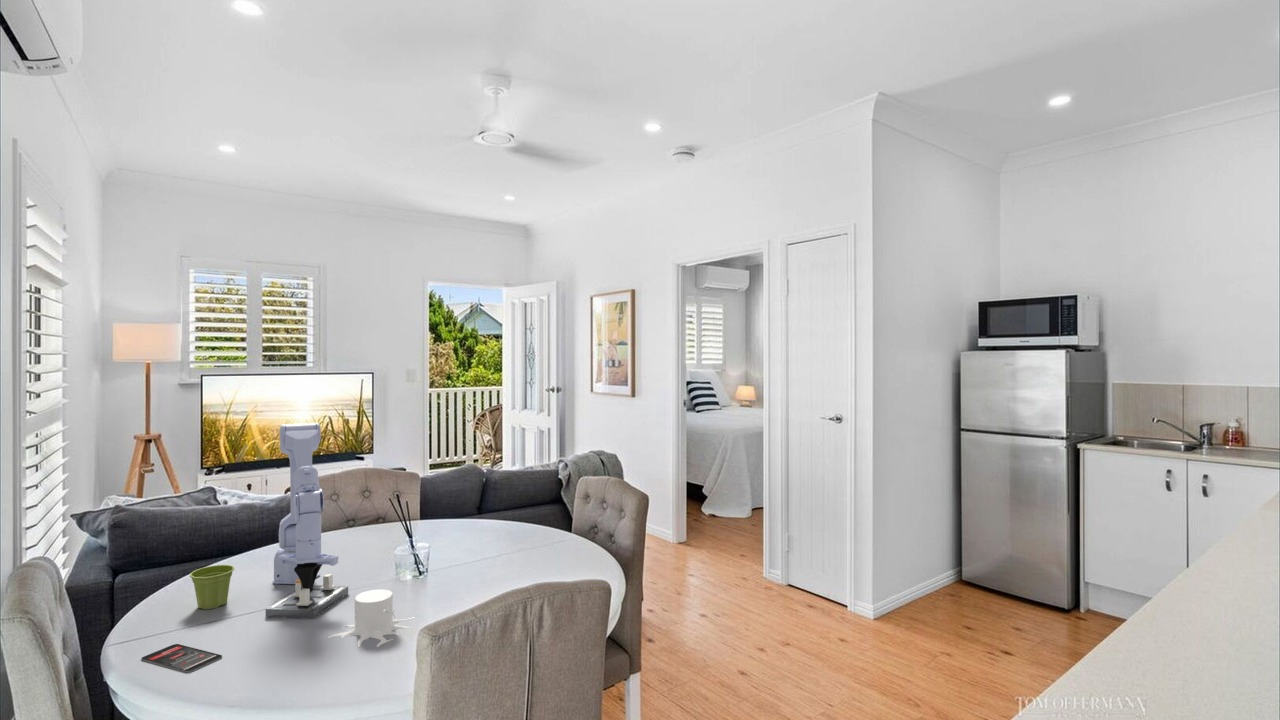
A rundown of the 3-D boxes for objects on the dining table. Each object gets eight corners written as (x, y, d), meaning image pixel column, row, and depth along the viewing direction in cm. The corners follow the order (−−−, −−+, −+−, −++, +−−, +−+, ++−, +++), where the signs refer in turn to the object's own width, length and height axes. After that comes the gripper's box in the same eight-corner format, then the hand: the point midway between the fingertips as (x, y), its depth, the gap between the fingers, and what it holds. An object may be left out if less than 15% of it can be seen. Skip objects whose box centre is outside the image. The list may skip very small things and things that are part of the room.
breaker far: (320, 589, 165) (320, 576, 165) (324, 586, 168) (325, 573, 167) (330, 590, 165) (330, 576, 165) (335, 586, 167) (335, 574, 167)
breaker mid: (292, 596, 160) (292, 580, 160) (297, 593, 163) (297, 577, 163) (303, 597, 160) (303, 581, 160) (308, 593, 162) (308, 578, 162)
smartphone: (176, 643, 139) (224, 655, 133) (176, 646, 139) (224, 659, 133) (139, 658, 132) (188, 671, 127) (139, 661, 132) (188, 675, 127)
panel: (265, 617, 154) (265, 608, 154) (304, 592, 170) (304, 584, 170) (313, 618, 153) (313, 610, 153) (348, 593, 169) (348, 586, 169)
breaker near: (296, 605, 155) (296, 591, 155) (301, 601, 157) (301, 588, 157) (307, 605, 155) (307, 591, 155) (312, 602, 157) (312, 588, 157)
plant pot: (186, 615, 154) (186, 579, 154) (192, 601, 163) (192, 567, 163) (232, 608, 159) (232, 573, 159) (236, 595, 167) (236, 562, 167)
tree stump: (360, 658, 134) (361, 620, 134) (310, 635, 145) (311, 599, 145) (438, 625, 151) (438, 591, 151) (388, 606, 162) (388, 574, 162)
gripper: (270, 542, 158) (270, 597, 158) (327, 544, 157) (327, 599, 157) (288, 534, 165) (288, 586, 165) (342, 536, 164) (342, 588, 164)
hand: (308, 592), depth 161 cm, fingers closed
